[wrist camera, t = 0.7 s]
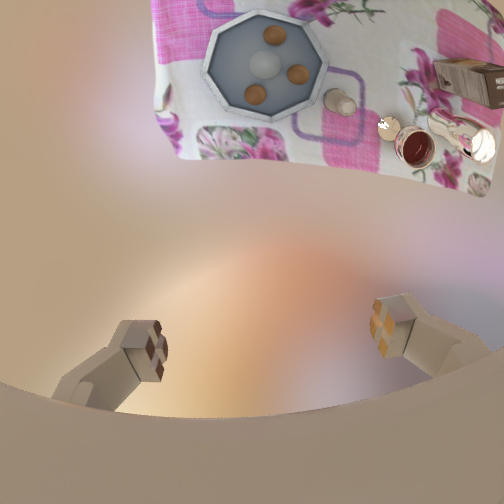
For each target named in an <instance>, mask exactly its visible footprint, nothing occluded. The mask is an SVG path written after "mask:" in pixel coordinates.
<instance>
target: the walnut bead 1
mask: <svg viewBox="0 0 504 504" xmlns="http://www.w3.org/2000/svg"><path fill="white" fill-rule="evenodd" d="M266 96H267V94H266V90H265V89H264V88H263V87H262V86H260V85H256V84H255V85H250V86H249V87H247V88H246V90H245V92H244V98H245V100H246V101H247V102H248V103H249V104H251V105H259V104H261V103H263V102H264V101H265V99H266Z"/></svg>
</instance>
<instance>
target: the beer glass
mask: <svg viewBox="0 0 504 504" xmlns="http://www.w3.org/2000/svg"><path fill="white" fill-rule="evenodd" d="M428 125H429V128H430V130H431V131H432V132H433V133H435V134H437V135H440V136H443V137H445V138H446V139H447V140H448V141H449V142H450V143H451V144H452V145H453V147H455V148H456V149H457V150H458V151H459V152H460V153H462V154H463V155H464V156H466V157H467V158H469V159H471V160H472V161H474V162H476V163H477V164H479V165H485V164H487V163H489V162H490V161H491V160H492V158H493V156H494V154H495V151H496V138H495V136H494V134H493V132H492V131H491V130H490V129H488V128H486V127H485V126H483V125H482V124H480V123H479V122H477V121H475V120H473V119H471V118H468V117H464V116H459V115H454V114H451V113H449V112H448V111H447V110H446V109H444V108H442V107H436V108H434V109H432V110H431V112H430V113H429V116H428Z"/></svg>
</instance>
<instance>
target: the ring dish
mask: <svg viewBox="0 0 504 504" xmlns="http://www.w3.org/2000/svg"><path fill="white" fill-rule="evenodd" d="M272 25H277V26H280V27H282V28H283V29H284V30H285V32H286V40H285V41H284V42H283V43H282V44H279V45H271V44H269V43H267V42H266V41H265V40H264V37H263V32H264V30H265V29H266V28H267V27H269V26H272ZM297 64H299V65H303V66H305V67H306V68H307V69H308V71H309V73H310V77H309V80H308V81H307V82H306V83H305V84H302V85H296V84H293V83H291V82H290V81H289V79H288V77H287V71H288V69H289V68H290V67H291V66H293V65H297ZM328 65H329V61H328V59H327V57H326V55H325V53H324V51H323V49H322V48H321V46H320V44H319V42H318V41H317V39H316V37H315V35H314V34H313V32H312V30H311V29H310V27H309V25H308V24H307V22H305V21H302V20H298V19H295V18H292V17H289V16H285V15H282V14H278V13H275V12H271V11H267V10H263V9H258V8H256V9H254V10H252V11H250V12H248V13H245V14H243V15H241V16H239V17H237V18H235V19H233V20H231V21H229V22H227V23H225V24H223V25H222V26H220V27H218V28H216V29H214V30H213V31H212V34H211V37H210V41H209V44H208V48H207V51H206V55H205V58H204V62H203V66H202V69H201V75H202V77H203V78H204V80H205V81H206V83H207V84H208V86H209V87H210V89H211V90H212V92H213V93H214V95H215V96H216V98H217V99H218V101H219V102H220V104H221V105H222V107H223V108H224V110H225V111H227V112H231V113H235V114H239V115H243V116H247V117H251V118H255V119H259V120H262V121H266V122H269V123H273V122H275V121H277V120H279V119H282V118H284V117H286V116H288V115H290V114H292V113H295V112H297V111H299V110H301V109H304V108H306V107H308V106H310V105H313V104H314V103H315V100H316V98H317V95H318V92H319V90H320V87H321V84H322V82H323V79H324V76H325V73H326V71H327V68H328ZM255 84H256V85H260V86H262V87H263V88H264V89H265V90H266V94H267V96H266V99H265V101H264V102H263V103H261V104H259V105H251V104H249V103H248V102H247V101H246V100H245V98H244V92H245V90H246V88H247V87H249V86H250V85H255Z"/></svg>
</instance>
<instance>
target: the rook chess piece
mask: <svg viewBox="0 0 504 504" xmlns="http://www.w3.org/2000/svg"><path fill="white" fill-rule="evenodd" d="M323 100H324V105H325V106H326V108H327V109H329V110H330V111H332V112H335V113H339V114H341V115H342V116H345V117H348V116H351V115H353V114H354V113H355V111H356V103H355V102H354V100H353V99H351V98H349V97H348V96H347V95H346V94H345V93H344V92H343V91H342V90H339V89H331V90H329V91H327V93H326V94H325V95H324V99H323Z"/></svg>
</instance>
